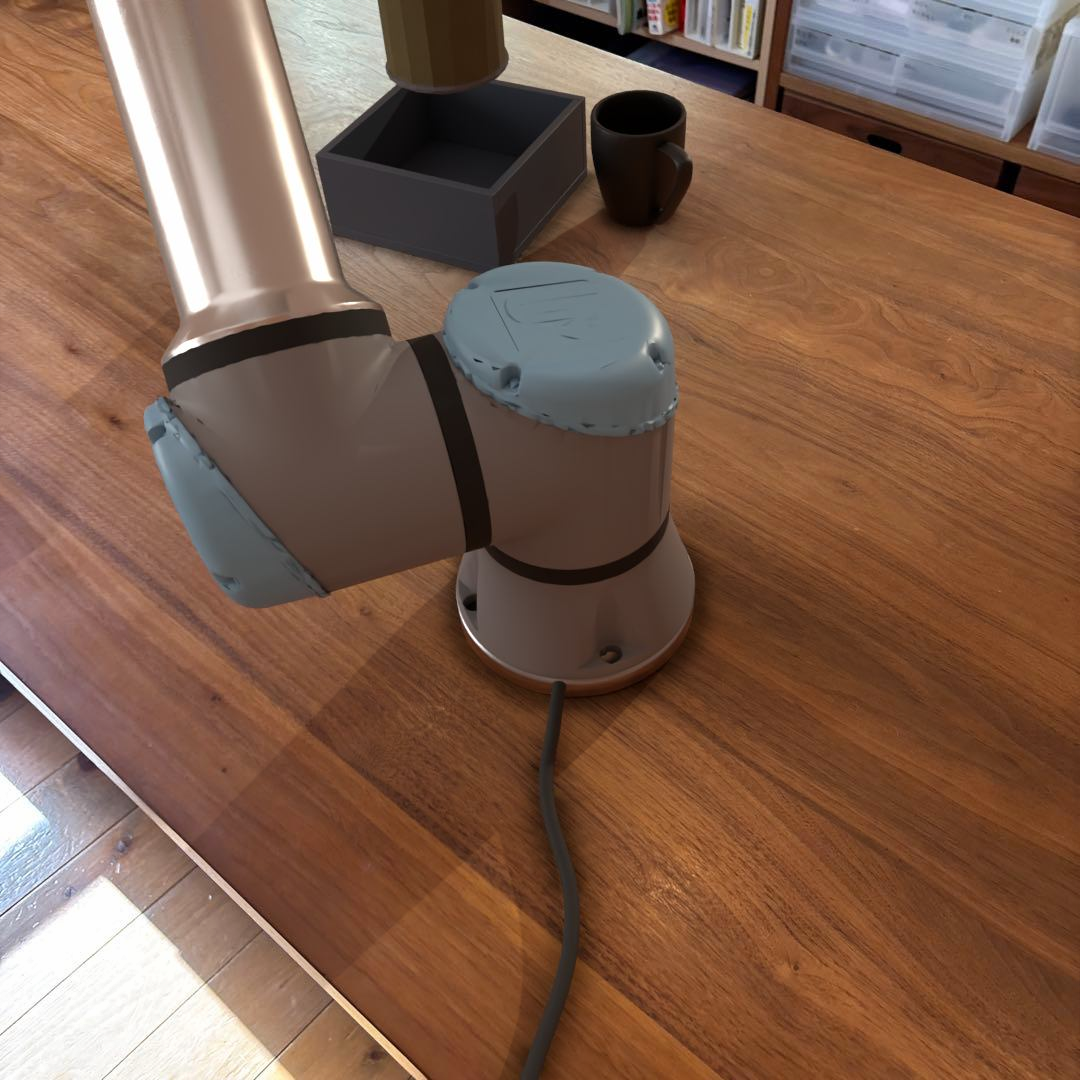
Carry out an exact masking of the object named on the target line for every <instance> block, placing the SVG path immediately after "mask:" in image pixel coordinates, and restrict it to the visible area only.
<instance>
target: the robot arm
mask: <svg viewBox="0 0 1080 1080" xmlns="http://www.w3.org/2000/svg"><path fill="white" fill-rule="evenodd" d="M85 3H86V5H87V9H88V13H89V15H90V19H91V22H92V23H91V24H92V27H93V29H94V33H95V36H96V39H97V40H96V41H97V43H98V46H99V50H100V53H101V56H102V59H103V60H102V61H103V63H104V67H105V71H106V75H107V77H108V80H109V83H110V87H111V91H112V94H113V97H114V101H115V105H116V107H117V111H118V115H119V117H120V122H121V125H122V128H123V131H124V135H125V138H126V141H127V145H128V148H129V151H130V156H131V158H132V162H133V164H134V169H135V173H136V175H137V179H138V182H139V185H140V188H141V192H142V197H143V199H144V202H145V206H146V210H147V212H148V216H149V220H150V222H151V226H152V229H153V233H154V236H155V241H156V243H157V246H158V250H159V253H160V256H161V260H162V264H163V267H164V270H165V273H166V277H167V280H168V284H169V287H170V291H171V294H172V297H173V300H174V304H175V307H176V311H177V315H178V317H179V327H178V329H177V331H176V332H175V334H174V336H173V337H172V339H171V341H170V342H169V344H168V346H167V348H166V349H165V351H164V352H163V355H162V356H161V358H160V365H161V369H162V372H163V375H164V376H163V377H164V379H165V383H166V387H167V390H168V393H169V394H168V395H169V398H168V397H167V396H161V397H157V398H156V399H155V401H154V402H153V403H151V404H149V405H148V406H147V407H146V408H145V409H144V412H143V424H144V430H145V432H146V435H147V436H148V439H149V441H150V445H151V447H152V454H153V457H154V460H155V463H156V466H157V467H158V471H159V473H160V475H161V478H162V480H163V483H164V485H165V487H166V489H167V493H168V495H169V496H170V499H171V501H172V504H173V505H174V507H175V510H176V512H177V515H178V516H179V519H180V520H181V523H182V524H183V526H184V528H185V531H186V532H187V534H188V536H189V538H190V540H191V542H192V544H193V546H194V549H195V550H196V552H197V554H198V555H199V558H201V560H202V562H203V564H204V566H205V567H206V569H207V570H208V573H209V574H210V576H211V577H212V578H213V580H214V582H215V583H216V584H217V586H218V587H219V588H220V589H221V591H222V592H223V593H224V594H225V595H226V596H227V598H229V599H231V600H232V601H233V602H234V603H236V604H238V605H240V606H242V607H245V608H248V609H249V608H250V609H255V610H256V609H257V610H260V609H268V608H272V607H278V606H281V605H285V604H289V603H293V602H298V601H302V600H306V599H310V598H314V597H315V598H316V597H318V598H320V599H326V598H328V597H329V596H332V593H333V592H337V591H340V590H343V589H348V588H350V587H354V586H357V585H361V584H365V583H368V582H371V581H375V580H378V579H381V578H385V577H388V576H391V575H396V574H400V573H402V572H406V571H409V570H412V569H416V568H419V567H422V566H423V567H424V566H426V565H429V564H433V563H436V562H439V561H440V562H441V561H444V560H446V559H451V558H454V557H457V556H460V555H462V558H461V561H460V563H459V567H458V571H457V575H456V582H455V599H456V605H457V611H458V616H459V621H460V622H459V623H460V626H461V628H462V632H463V634H464V637H465V639H466V641H467V643H468V645H469V647H470V648H471V649H472V651H473V652H474V653H475V655H476V656H477V657H478V658H479V659H480V660H481V662H482V663H483V664H484V665H486V666H487V668H489V669H491V671H492V672H493V673H496V675H498V676H500V677H501V678H503V679H504V680H506V681H508V682H510V683H512V684H514V685H517V686H518V687H520V688H523V689H526V690H529V691H532V692H536V693H540V694H544V695H549V696H550V699H549V700H550V701H549V706H548V712H547V720H546V726H545V733H544V739H543V744H542V748H541V753H540V760H539V767H538V768H539V769H538V794H539V801H540V809H541V814H542V819H543V823H544V827H545V830H546V834H547V838H548V841H549V844H550V847H551V851H552V853H553V857H554V860H555V864H556V867H557V871H558V874H559V879H560V883H561V889H562V897H563V909H564V913H563V915H564V916H563V918H564V919H563V923H564V924H563V935H562V943H561V950H560V956H559V960H558V961H559V962H558V966H557V970H556V974H555V977H554V981H553V985H552V988H551V991H550V995H549V998H548V1001H547V1002H546V1003H547V1004H546V1006H545V1008H544V1012H543V1014H542V1017H541V1020H540V1022H539V1025H538V1027H537V1028H538V1029H537V1030H536V1033H535V1036H534V1039H533V1040H532V1044H531V1046H530V1050H529V1052H528V1055H527V1058H526V1061H525V1063H524V1066H523V1069H522V1072H521V1075H520V1079H519V1080H540V1076H541V1073H542V1070H543V1067H544V1065H545V1061H546V1059H547V1055H548V1053H549V1050H550V1047H551V1044H552V1042H553V1039H554V1036H555V1034H556V1031H557V1028H558V1025H559V1023H560V1020H561V1017H562V1015H563V1011H564V1008H565V1005H566V1003H567V999H568V997H569V992H570V988H571V985H572V983H573V978H574V973H575V968H576V965H577V964H576V963H577V957H578V953H579V944H580V932H581V901H580V894H579V887H578V882H577V877H576V873H575V872H576V871H575V869H574V865H573V862H572V858H571V855H570V852H569V849H568V846H567V844H566V840H565V837H564V834H563V831H562V828H561V823H560V819H559V815H558V811H557V805H556V800H555V788H554V771H555V761H556V756H557V752H558V747H559V741H560V735H561V727H562V719H563V713H564V705H565V698H566V697H568V698H570V697H571V698H573V697H575V698H576V697H590V696H591V697H592V696H598V695H604V694H608V693H612V692H616V691H619V690H622V689H625V688H628V687H630V686H632V685H634V684H636V683H638V682H641V681H642V680H644V679H646V678H648V677H649V676H651V675H652V674H653V673H655V672H656V671H658V670H659V669H660V668H661V667H663V666H664V665H665V664H666V663H667V662H668V661H669V660H670V659H671V658H672V657H673V656H674V655H675V654H676V652H677V651H678V649H679V648H680V647H681V646H682V643H683V642H684V640H685V638H686V637H687V634H688V631H689V629H690V626H691V624H692V619H693V615H694V609H695V608H694V607H695V595H696V578H695V571H694V566H693V563H692V560H691V558H690V555H689V553H688V550H687V549H686V546H685V545H684V543H683V541H682V539H681V537H680V533H679V531H678V528H677V526H676V524H675V520H674V519H673V517H672V514H671V511H670V507H671V506H670V505H671V492H672V491H671V490H672V475H673V474H672V473H673V456H674V455H673V454H674V440H675V438H674V437H675V424H676V423H675V421H676V411H677V408H678V405H679V400H680V388H679V385H678V380H677V377H676V352H675V351H676V350H675V349H676V348H675V342H674V336H673V334H672V330H671V328H670V325H669V324H668V321H667V320H666V318H665V316H664V315H663V313H662V311H661V310H660V309H659V307H658V306H657V305H656V304H655V303H654V302H653V301H652V300H651V299H650V298H649V297H648V296H646V295H645V294H644V293H643V292H641V291H640V290H639V289H637V288H636V287H635V286H633V285H631V284H630V283H628V282H627V281H624V280H622V279H620V278H618V277H616V276H614V275H611V274H607V273H603V272H600V271H598V270H595V269H594V268H592V267H589V266H585V265H580V264H575V263H568V262H559V261H528V262H527V261H525V262H518V263H517V262H516V263H513V264H512V265H507V266H502V267H498V268H495V269H492V270H490V271H487V272H485V273H480V274H478V275H477V276H475V277H473V278H472V279H470V280H469V281H468V282H467V285H466V288H461V289H460V288H459V290H458V291H457V292H456V293H455V294H453V296H452V297H451V299H450V301H449V303H448V305H447V308H446V310H445V314H444V318H443V320H442V322H441V323H442V328H441V330H440V331H436V332H433V333H429V334H425V335H421V336H417V337H416V336H415V337H412V338H408V339H404V340H400V341H395V340H394V338H393V335H392V332H391V329H390V324H389V320H388V317H387V314H386V311H385V310H384V306H383V305H382V304H380V303H379V302H377V301H376V300H374V299H372V298H370V297H369V296H367V295H365V294H364V293H362V292H360V291H359V290H357V289H355V288H353V287H352V286H351V285H350V283H348V281H347V279H346V278H345V275H344V271H343V268H342V264H341V261H340V257H339V254H338V249H337V246H336V243H335V239H334V234H333V232H332V228H331V224H330V220H329V217H328V213H327V211H326V207H325V204H324V200H323V196H322V193H321V190H320V187H319V181H318V179H317V175H316V171H315V169H314V165H313V161H312V158H311V155H310V151H309V148H308V144H307V141H306V137H305V134H304V133H305V132H304V129H303V127H302V123H301V119H300V116H299V112H298V109H297V105H296V101H295V98H294V95H293V91H292V86H291V85H290V80H289V76H288V73H287V71H286V66H285V64H284V63H285V62H284V59H283V56H282V53H281V48H280V45H279V41H278V38H277V34H276V31H275V28H274V25H273V20H272V16H271V14H270V9H269V6H268V3H267V0H85Z"/></svg>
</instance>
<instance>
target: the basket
mask: <svg viewBox="0 0 1080 1080" xmlns="http://www.w3.org/2000/svg"><path fill="white" fill-rule="evenodd" d="M586 106H587V105H586V96H584V95H579V94H575V93H574V94H573V93H570V92H569V93H568V92H563V91H558V90H552V89H547V88H542V87H537V86H531V85H527V84H521V83H515V82H510V81H505V80H501V79H500V80H499V79H495V80H493V81H491V82H488V83H486V84H484V85H482V86H480V87H478V88H475V89H472V90H469V91H464V92H458V93H452V94H430V93H419V92H415V91H411V90H408V89H405V88H402V87H400V86H398V85H397V84H396V83H395V85H394V86H393V87H391V88H390V89H389V90H388V91H387V92H386V93H385V94H384V95H382V96H381V97H380V98H379V99H378V100H376V101H375V103H373V104H372V105H371V106H370V107H369V108H367V109H366V110H365V111H363V113H362V114H360V115H359V116H358V117H357V118H356V119H355V120H354V121H352V122H351V123H350V124H349V125H347V126H346V128H344V129H343V130H342V131H341V132H340V133H338V134H337V135H336V136H335V137H334V138H333V139H331V140H330V141H329V142H328V143H327V144H326V145H324V146H323V147H322V148H321V149H320V150H319V151H317V152H316V153H315V154H314V158H315V162H316V167H317V170H318V174H319V179H320V185H321V189H322V192H323V197H324V201H325V202H324V203H325V206H326V210H327V211H326V212H327V216H328V220H329V225H330V228H331V232H332V235H333V236H337V237H342V238H345V239H349V240H354V241H357V242H361V243H365V244H368V245H373V246H377V247H380V248H384V249H388V250H391V251H392V250H393V251H395V252H399V253H404V254H407V255H412V256H415V257H419V258H422V259H426V260H431V261H434V262H438V263H442V264H444V265H445V264H446V265H449V266H454V267H458V268H462V269H464V270H465V269H466V270H469V271H473V272H477V273H480V274H483V273H485V272H487V271H490V270H492V269H495V268H498V267H502V266H507V265H512V264H515V262H516V261H517V260H518V259H519V257H520V256H521V255H522V254H523V253H524V252H525V250H526V249H527V248H528V247H529V246H530V245H531V243H532V242H533V241H534V240H535V239H536V237H538V235H539V234H540V233H541V232H542V230H543V229H544V228H545V227H546V226H547V224H548V223H549V222H550V221H551V220H552V219H553V218H554V216H555V215H556V214H557V213H558V212H559V210H561V208H562V207H563V206H564V204H566V203H567V201H568V200H569V199H570V197H572V195H573V194H574V193H575V191H576V190H577V189H578V188H579V187H580V186H581V185H582V184H583V182H584V181H585V180H586V179H587V178H588V153H587V152H588V148H587V147H588V146H587V145H588V143H587V141H588V140H587V107H586Z"/></svg>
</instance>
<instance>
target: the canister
mask: <svg viewBox="0 0 1080 1080" xmlns="http://www.w3.org/2000/svg"><path fill="white" fill-rule="evenodd" d="M376 2H377V6H378V13H379V19H380V25H381V32H382V38H383V45H384V51H385V58H386V62H385V65H384V67H385V73H386V75H387V77H388V79H389V80H390V81H392V82H393V83H394V84H395V85H396V84H397V85H398V86H400V87H402V88H405V89H408V90H411V91H415V92H419V93H430V94H452V93H458V92H464V91H469V90H472V89H475V88H478V87H480V86H482V85H484V84H486V83H488V82H491V81H493V80H497V79H498V78H499V77H500V76H501V75H502V74H503V73H504V72H505V71H506V69H507V67H508V65H509V60H510V54H509V51H508V49H507V47H506V44H505V43H506V42H505V30H504V18H503V4H502V0H377V1H376Z"/></svg>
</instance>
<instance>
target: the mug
mask: <svg viewBox="0 0 1080 1080" xmlns="http://www.w3.org/2000/svg"><path fill="white" fill-rule="evenodd" d="M687 115H688V114H687V109H686V106H685V105H684V103H683V102H681V100H679V99H678V98H676V97H675V96H672V95H670V94H669V93H666V92H661V91H657V90H649V89H631V90H625V91H624V90H623V91H620V92H616V93H612V94H610V95H607V96H605V97H604V98H601V99H600V100H599V101H598V102H597V103H595V104H594V106H593V107H592V109H591V111H590V117H589V121H590V123H589V125H590V128H589V129H590V151H591V152H590V153H591V159H592V164H593V169H594V174H595V177H596V181H597V185H598V189H599V192H600V195H601V198H602V201H603V204H604V206H605V209H606V214H607V216H608V217H609V219H610V220H611V221H612V222H614V223H616V224H618V225H620V226H623V227H628V228H645V227H649V226H653V225H654V226H662V225H664V224H666V223H667V222H668V221H669V220H670V219H671V218H672V217H673V216H674V214H675V213H676V211H677V209H678V208H679V206H680V205H681V203H682V201H683V199H684V198H685V196H686V194H687V192H688V190H689V188H690V186H691V183H692V179H693V175H694V174H693V173H694V163H693V160H692V158H691V156H690V154H689V153H688V152H687V151H686V149H685V148H686V135H687Z"/></svg>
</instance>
